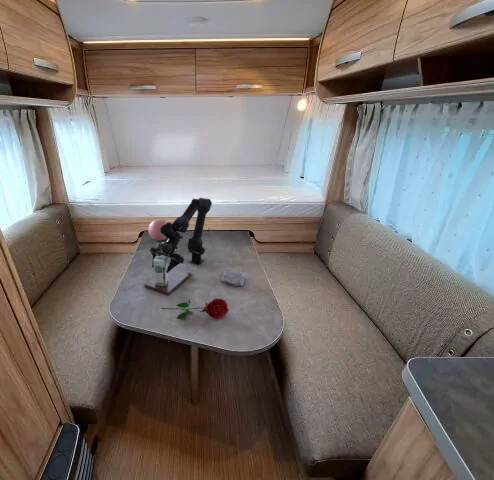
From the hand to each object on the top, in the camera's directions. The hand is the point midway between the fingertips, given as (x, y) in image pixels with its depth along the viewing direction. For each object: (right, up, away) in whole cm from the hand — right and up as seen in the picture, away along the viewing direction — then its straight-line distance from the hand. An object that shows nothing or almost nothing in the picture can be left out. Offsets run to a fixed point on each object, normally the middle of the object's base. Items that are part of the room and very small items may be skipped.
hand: (159, 270), depth 133 cm
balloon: (-8, +16, +64) cm, 66 cm away
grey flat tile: (+4, -7, +10) cm, 12 cm away
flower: (+18, -19, -17) cm, 31 cm away
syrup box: (0, -7, +5) cm, 9 cm away
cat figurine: (-5, +11, +42) cm, 43 cm away
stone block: (+38, -7, +9) cm, 40 cm away
